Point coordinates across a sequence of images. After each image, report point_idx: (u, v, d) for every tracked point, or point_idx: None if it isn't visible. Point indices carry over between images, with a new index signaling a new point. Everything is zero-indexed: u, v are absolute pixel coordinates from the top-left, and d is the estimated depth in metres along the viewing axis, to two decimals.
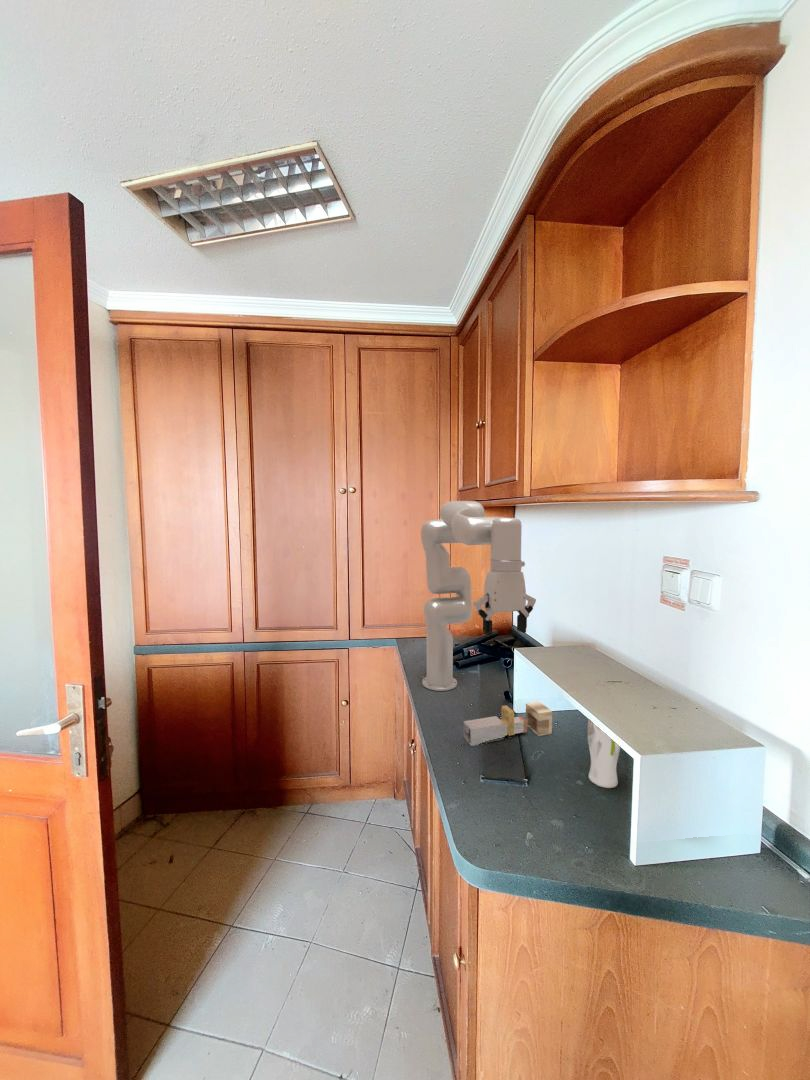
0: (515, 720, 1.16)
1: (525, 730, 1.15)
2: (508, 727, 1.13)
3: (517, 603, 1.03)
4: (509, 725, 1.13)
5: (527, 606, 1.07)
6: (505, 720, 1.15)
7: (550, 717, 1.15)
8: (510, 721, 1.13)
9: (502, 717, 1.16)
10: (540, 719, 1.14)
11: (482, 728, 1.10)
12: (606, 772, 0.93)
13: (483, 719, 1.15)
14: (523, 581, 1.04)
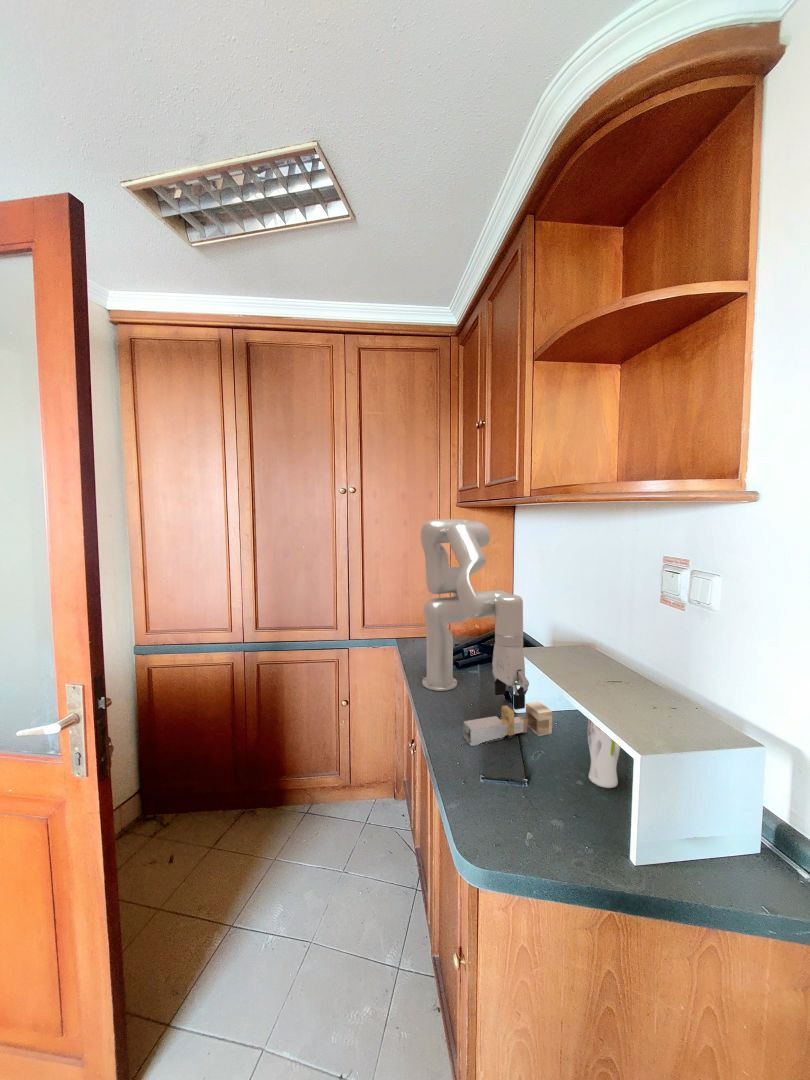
0: (515, 720, 1.16)
1: (525, 730, 1.15)
2: (508, 727, 1.13)
3: None
4: (509, 725, 1.13)
5: None
6: (505, 720, 1.15)
7: (550, 717, 1.15)
8: (510, 721, 1.13)
9: (502, 717, 1.16)
10: (540, 719, 1.14)
11: (482, 728, 1.10)
12: (606, 772, 0.93)
13: (483, 719, 1.15)
14: None
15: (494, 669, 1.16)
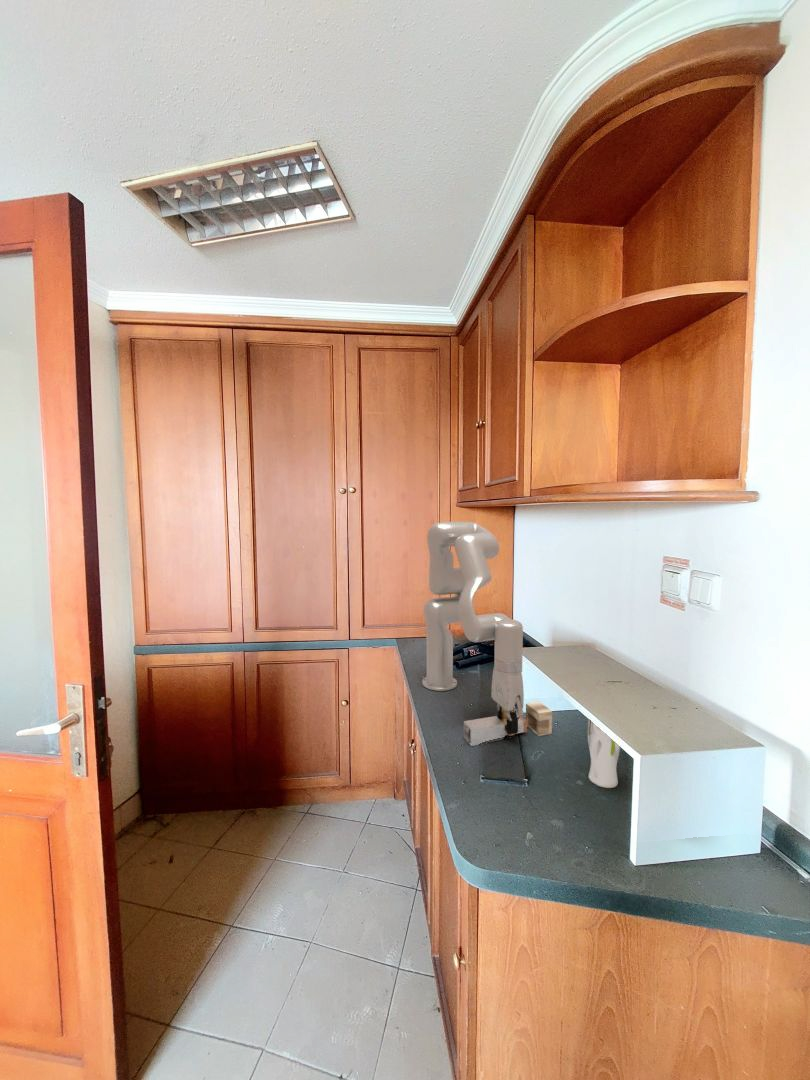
0: None
1: (525, 730, 1.15)
2: None
3: None
4: None
5: None
6: (505, 720, 1.15)
7: (550, 717, 1.15)
8: None
9: (502, 717, 1.16)
10: (540, 719, 1.14)
11: (482, 728, 1.10)
12: (606, 772, 0.93)
13: (483, 719, 1.15)
14: None
15: (493, 692, 1.17)
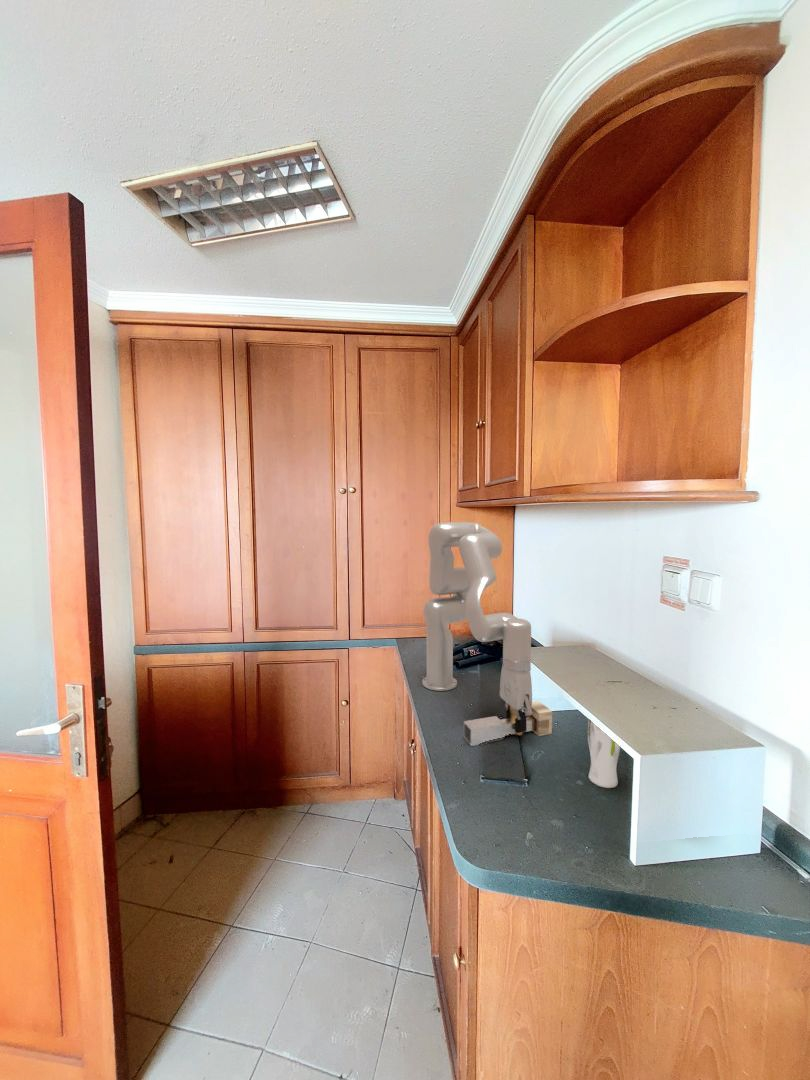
0: None
1: (533, 729, 1.16)
2: None
3: None
4: None
5: None
6: (513, 719, 1.15)
7: (550, 717, 1.15)
8: None
9: (510, 716, 1.17)
10: (540, 719, 1.14)
11: (482, 728, 1.10)
12: (606, 772, 0.93)
13: (483, 719, 1.15)
14: None
15: (501, 691, 1.18)
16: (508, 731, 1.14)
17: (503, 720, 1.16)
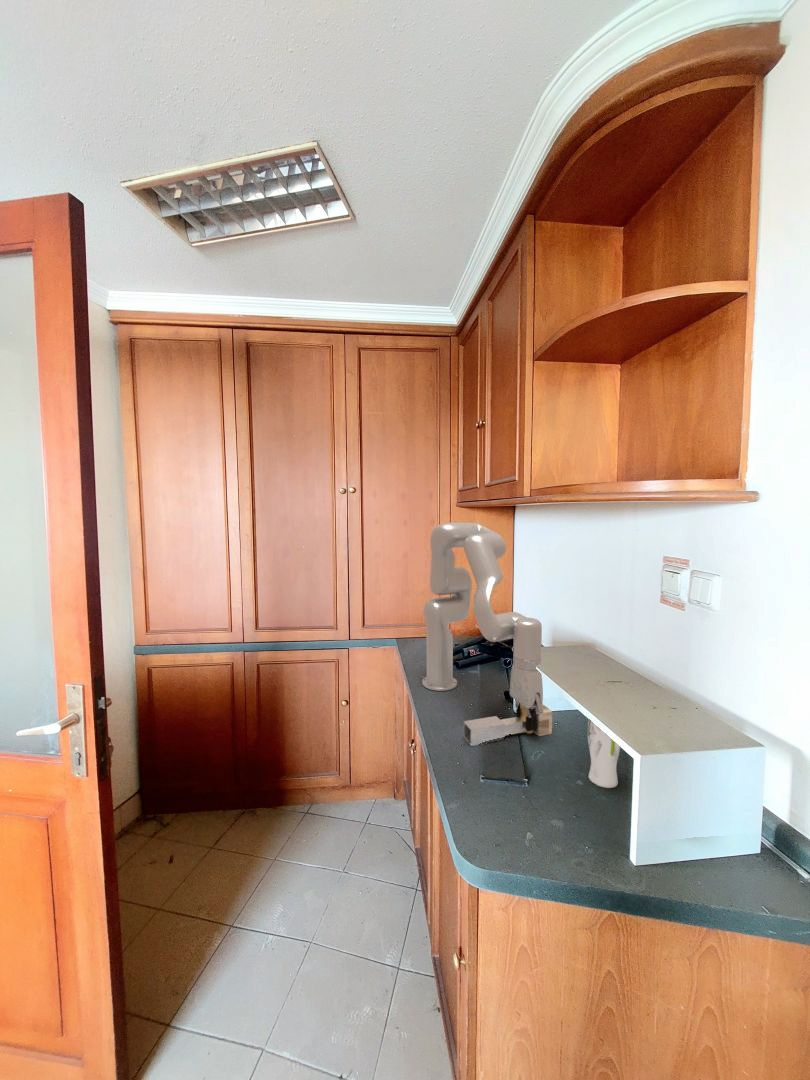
0: None
1: None
2: None
3: None
4: None
5: None
6: (524, 717, 1.16)
7: (550, 717, 1.15)
8: None
9: (521, 714, 1.18)
10: (540, 719, 1.14)
11: (482, 728, 1.10)
12: (606, 772, 0.93)
13: (483, 719, 1.15)
14: None
15: (511, 690, 1.19)
16: (518, 729, 1.14)
17: (513, 718, 1.17)
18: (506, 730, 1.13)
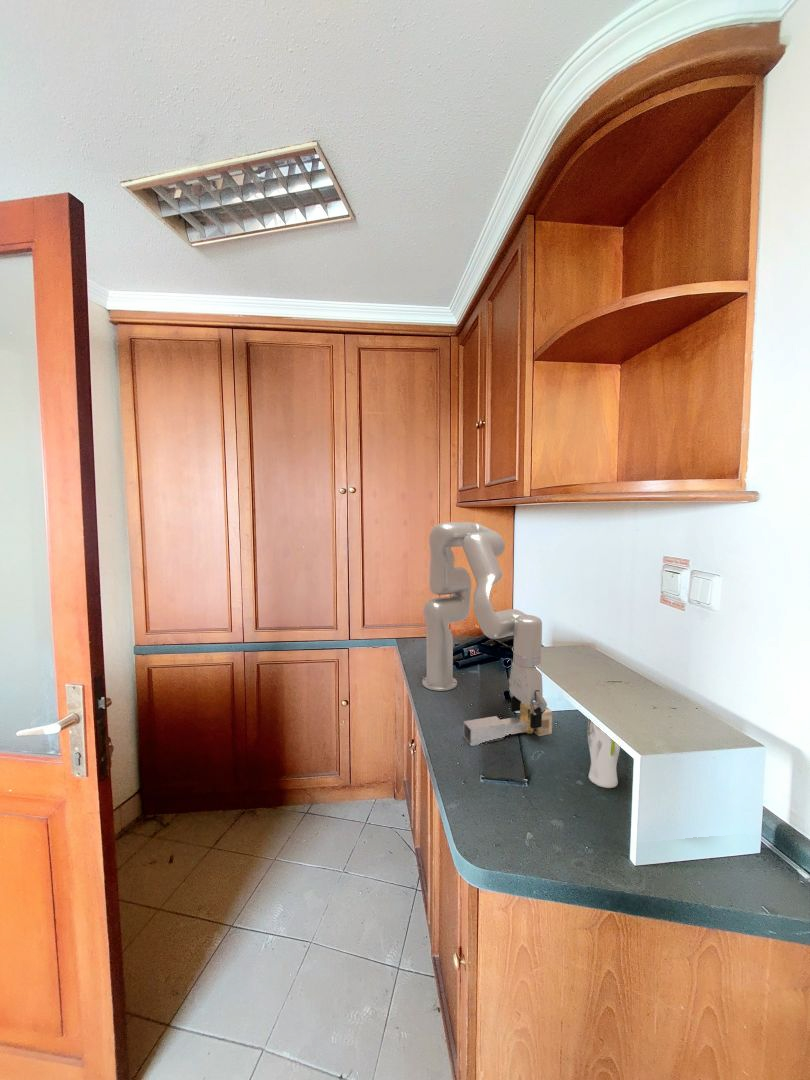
0: None
1: None
2: (527, 724, 1.15)
3: None
4: (528, 722, 1.15)
5: None
6: (524, 717, 1.16)
7: (550, 717, 1.15)
8: (529, 718, 1.15)
9: (521, 714, 1.18)
10: None
11: (482, 728, 1.10)
12: (606, 772, 0.93)
13: (483, 719, 1.15)
14: None
15: (511, 687, 1.19)
16: (518, 729, 1.14)
17: (513, 718, 1.17)
18: (506, 730, 1.13)
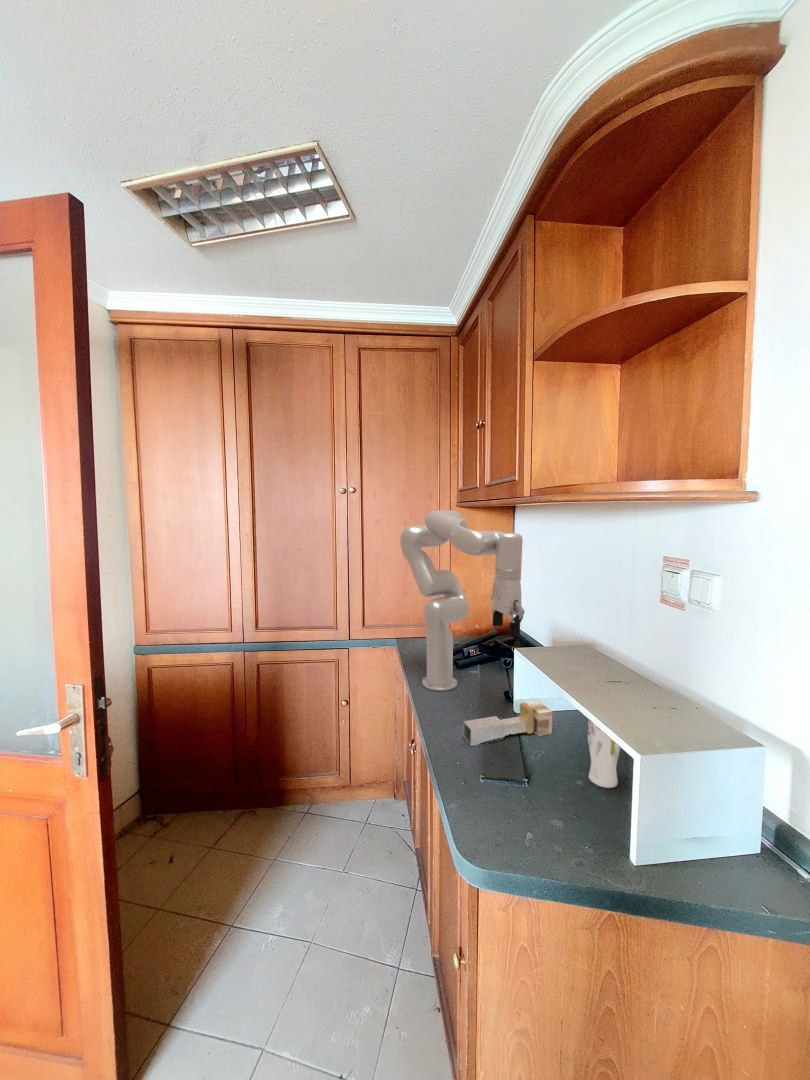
0: (534, 717, 1.17)
1: None
2: (527, 724, 1.15)
3: None
4: (528, 722, 1.15)
5: None
6: (524, 717, 1.16)
7: (550, 717, 1.15)
8: (529, 718, 1.15)
9: (521, 714, 1.18)
10: (540, 719, 1.14)
11: (482, 728, 1.10)
12: (606, 772, 0.93)
13: (483, 719, 1.15)
14: None
15: (493, 602, 1.26)
16: (518, 729, 1.14)
17: (513, 718, 1.17)
18: (506, 730, 1.13)
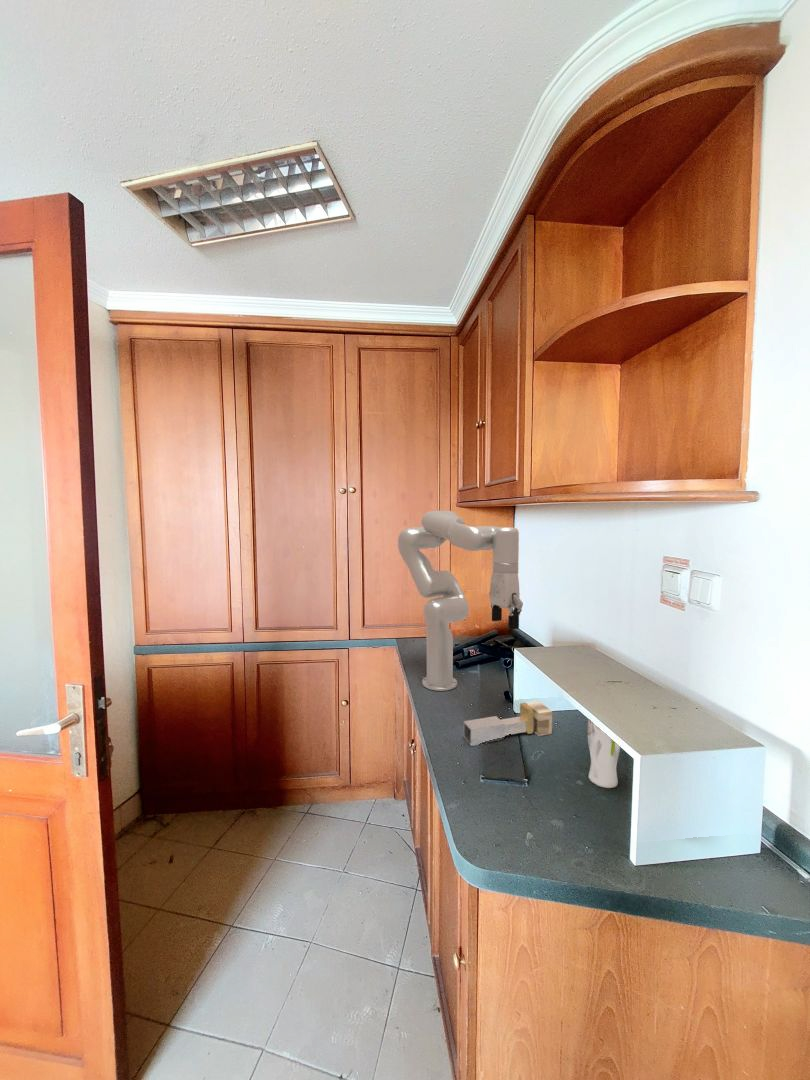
0: (534, 717, 1.17)
1: None
2: (527, 724, 1.15)
3: None
4: (528, 722, 1.15)
5: None
6: (524, 717, 1.16)
7: (550, 717, 1.15)
8: (529, 718, 1.15)
9: (521, 714, 1.18)
10: (540, 719, 1.14)
11: (482, 728, 1.10)
12: (606, 772, 0.93)
13: (483, 719, 1.15)
14: None
15: (491, 596, 1.26)
16: (518, 729, 1.14)
17: (513, 718, 1.17)
18: (506, 730, 1.13)
